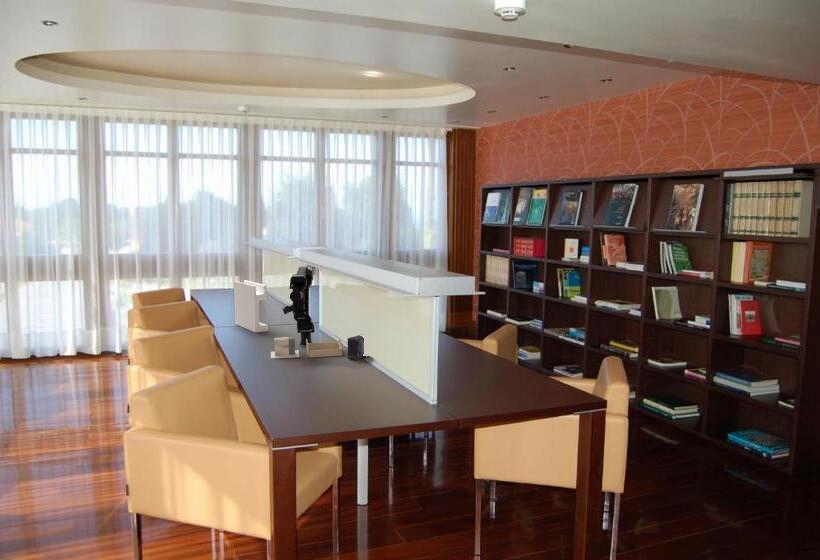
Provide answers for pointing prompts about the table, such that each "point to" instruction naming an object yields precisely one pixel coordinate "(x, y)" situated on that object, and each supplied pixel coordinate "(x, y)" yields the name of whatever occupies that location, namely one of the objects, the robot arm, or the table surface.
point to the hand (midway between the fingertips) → (299, 329)
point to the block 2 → (284, 346)
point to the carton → (325, 349)
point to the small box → (356, 347)
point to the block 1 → (249, 305)
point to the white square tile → (284, 355)
